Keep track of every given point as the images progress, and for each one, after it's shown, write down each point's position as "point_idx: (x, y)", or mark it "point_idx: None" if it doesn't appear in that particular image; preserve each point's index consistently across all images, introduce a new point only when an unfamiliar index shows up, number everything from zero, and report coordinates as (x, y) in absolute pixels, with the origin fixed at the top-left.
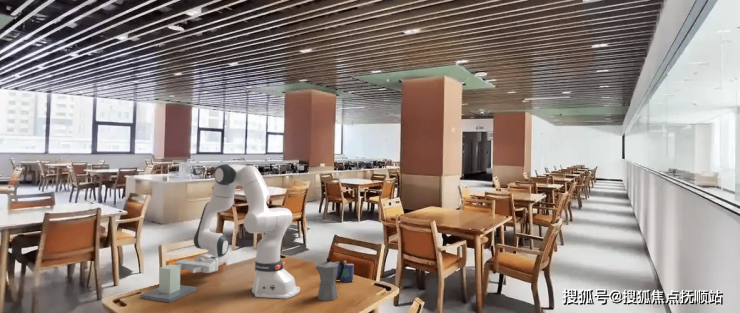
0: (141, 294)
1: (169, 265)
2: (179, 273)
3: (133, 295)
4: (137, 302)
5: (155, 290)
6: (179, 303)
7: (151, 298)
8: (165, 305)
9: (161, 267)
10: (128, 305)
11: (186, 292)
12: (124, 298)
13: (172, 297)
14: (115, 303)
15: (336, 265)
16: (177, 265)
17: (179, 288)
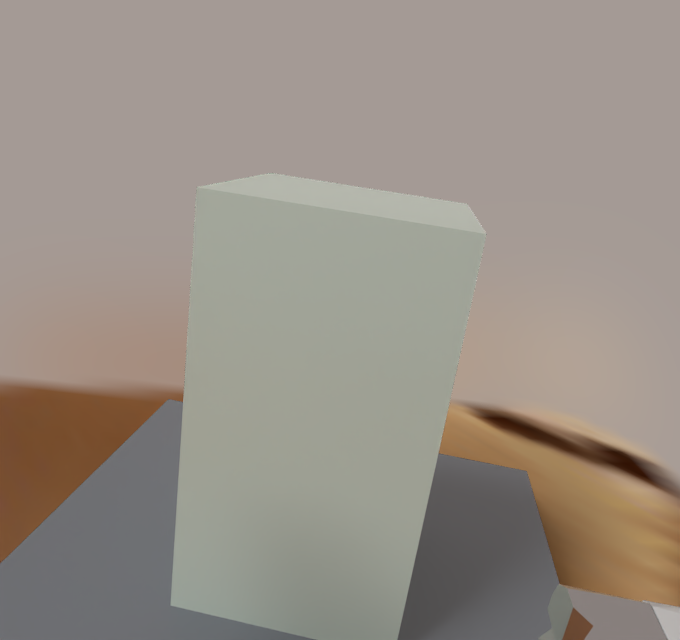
0: (524, 474)
1: (429, 216)
2: (196, 335)
3: (665, 553)
4: (448, 441)
5: (501, 563)
6: (70, 418)
7: None
8: (182, 400)
9: (460, 206)
10: (458, 412)
11: (32, 540)
12: (644, 498)
13: (162, 421)
14: (583, 435)
15: None
16: (270, 198)
17: (175, 579)
